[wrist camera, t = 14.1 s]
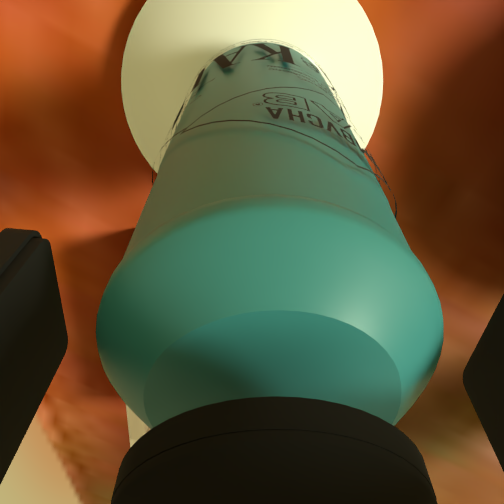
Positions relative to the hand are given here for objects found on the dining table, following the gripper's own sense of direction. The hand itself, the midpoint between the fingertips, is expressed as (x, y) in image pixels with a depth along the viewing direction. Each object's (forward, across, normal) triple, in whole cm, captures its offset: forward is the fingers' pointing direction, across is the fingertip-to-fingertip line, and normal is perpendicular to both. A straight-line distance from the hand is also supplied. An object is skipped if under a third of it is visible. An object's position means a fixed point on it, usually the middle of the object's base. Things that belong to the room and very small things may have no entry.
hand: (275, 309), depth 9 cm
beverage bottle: (+14, 0, 0) cm, 14 cm away
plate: (+15, +1, 0) cm, 15 cm away
